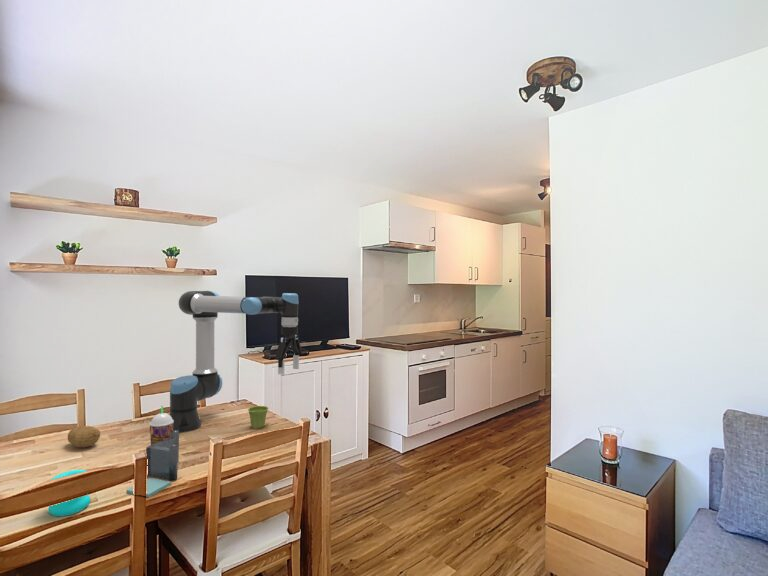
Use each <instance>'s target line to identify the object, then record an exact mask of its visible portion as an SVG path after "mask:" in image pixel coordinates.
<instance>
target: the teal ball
mask: <svg viewBox="0 0 768 576" xmlns="http://www.w3.org/2000/svg"><path fill="white" fill-rule="evenodd" d="M86 471H87V470H85V469H73V470H69V471H64V472H61V473H59V474H58V475H55V476H53V477H52V478H51V480H53V479H56V478H60V477H63V476H68V475H72V474H76V473H81V472H86ZM51 480H50V481H51ZM90 502H91V496H90V495H89V494H88V495H86V496H83V497H79V498H76V499H73V500H70V501H67V502H63V503H60V504H57V505H53V506H49V505H48V509H47V511H48V513H49V514H50V515H51V516H55V517H66V516H70V515H74V514H76V513H79V512H80V511H82V510H84V509H85V508H87V507H88V505H90Z"/></svg>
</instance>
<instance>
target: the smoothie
mask: <svg viewBox="0 0 768 576" xmlns="http://www.w3.org/2000/svg"><path fill="white" fill-rule="evenodd" d="M169 414H170V413H167V412H164V405H161V406H160V413H158V414H156V415H154V416H153V417H152V418H151V421H150V422H149V436H150V437H149V439H150V445H153V444H155V443H157V442H160V441H162V440H164V439H167V438H169V437H171V431H172V430H173V422H174V420H173V419H172V417H171V416H170V415H169Z"/></svg>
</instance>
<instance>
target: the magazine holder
mask: <svg viewBox="0 0 768 576" xmlns="http://www.w3.org/2000/svg"><path fill="white" fill-rule="evenodd" d="M145 449H146V450H145V452H146V454H147V459H148V465H147V466H148V476H147V477H150V478H155V479H160V480H165V481H169V482H173V481H176V480H178V466H179V465H178V463H179V457H180V456H179V455H180V433H179V430H172V431H171V437H169V438H167V439H164V440H162V441H160V442H157V443H155V444H153V445H151V444H150V445H148V446H146V448H145ZM146 454H145V455H146Z"/></svg>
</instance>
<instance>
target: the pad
mask: <svg viewBox="0 0 768 576" xmlns="http://www.w3.org/2000/svg"><path fill="white" fill-rule="evenodd" d="M146 480H147V493H146V495H147V497H146V498H150V497H152V496H154V495H155V494H157V493H160V492H161V491H163V490H165V489H166V488H168V487H170V486H171V485H172V481H169V480H165V479H160V478H155V477H149V478H147V479H146ZM126 494H130V495H133V486H131V487H129V488H128V489H126Z"/></svg>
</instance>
